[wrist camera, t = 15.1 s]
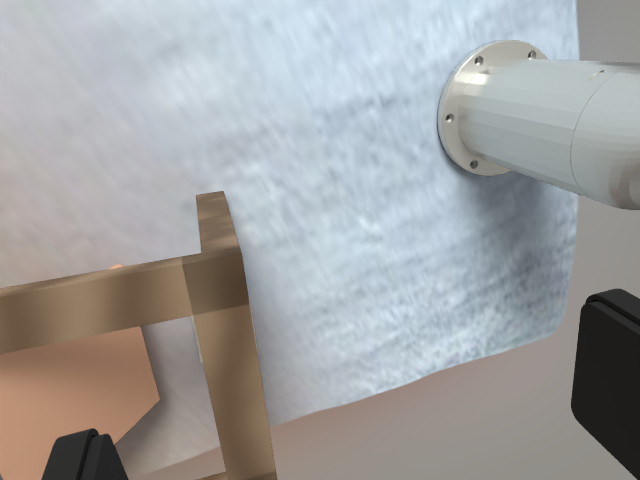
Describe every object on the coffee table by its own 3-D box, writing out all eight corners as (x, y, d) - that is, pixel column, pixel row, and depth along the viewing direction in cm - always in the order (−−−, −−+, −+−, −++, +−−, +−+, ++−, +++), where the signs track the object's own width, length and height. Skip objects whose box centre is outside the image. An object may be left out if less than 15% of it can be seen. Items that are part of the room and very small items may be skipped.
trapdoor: (88, 260, 41) (124, 265, 39) (127, 390, 46) (160, 399, 45) (-249, 439, 23) (-209, 461, 22) (-123, 613, 29) (-84, 642, 27)
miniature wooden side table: (223, 191, 42) (241, 253, 29) (255, 387, 51) (281, 503, 38) (-99, 239, 37) (-250, 341, 24) (-3, 449, 46) (-75, 608, 33)
